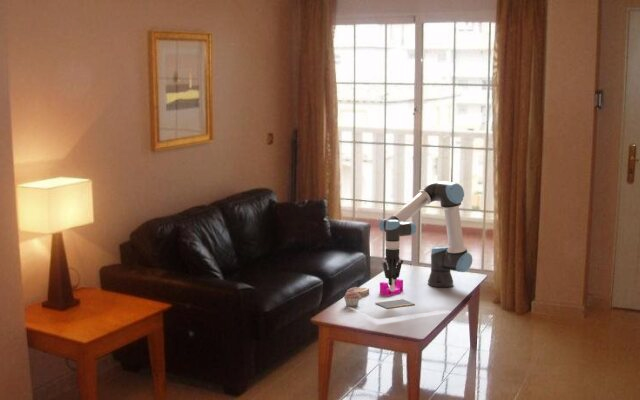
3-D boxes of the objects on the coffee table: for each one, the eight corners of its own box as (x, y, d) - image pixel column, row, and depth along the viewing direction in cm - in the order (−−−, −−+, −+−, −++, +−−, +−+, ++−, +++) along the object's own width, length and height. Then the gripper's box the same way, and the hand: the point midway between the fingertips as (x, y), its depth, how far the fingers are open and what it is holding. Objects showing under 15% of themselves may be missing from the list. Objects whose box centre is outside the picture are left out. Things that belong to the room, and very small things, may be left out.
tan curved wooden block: (346, 290, 448) (360, 291, 443) (355, 286, 456) (369, 288, 451) (346, 297, 448) (360, 299, 443) (355, 293, 457) (369, 295, 452)
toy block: (387, 297, 448) (387, 284, 447) (379, 295, 453) (379, 282, 452) (405, 293, 457) (406, 280, 456) (398, 291, 462) (398, 278, 461)
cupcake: (357, 308, 422) (357, 290, 421) (341, 306, 425) (341, 288, 424) (362, 304, 431) (362, 286, 430) (346, 302, 434) (346, 285, 433)
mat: (402, 300, 440) (402, 299, 440) (414, 304, 429) (414, 303, 429) (375, 303, 431) (375, 302, 431) (386, 308, 421) (386, 307, 421)
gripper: (398, 246, 432) (398, 288, 435) (378, 248, 426) (378, 290, 429) (406, 248, 425) (405, 290, 428) (385, 250, 419) (385, 293, 422)
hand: (392, 290), depth 428 cm, fingers closed
